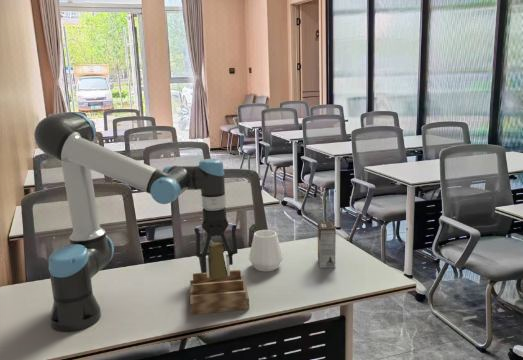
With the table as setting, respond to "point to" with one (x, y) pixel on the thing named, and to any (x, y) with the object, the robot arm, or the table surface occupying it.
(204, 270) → the beverage cup
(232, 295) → the rack
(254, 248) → the cup
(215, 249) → the olive green pawn
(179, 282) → the table surface
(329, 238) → the coffee box
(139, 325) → the table surface
